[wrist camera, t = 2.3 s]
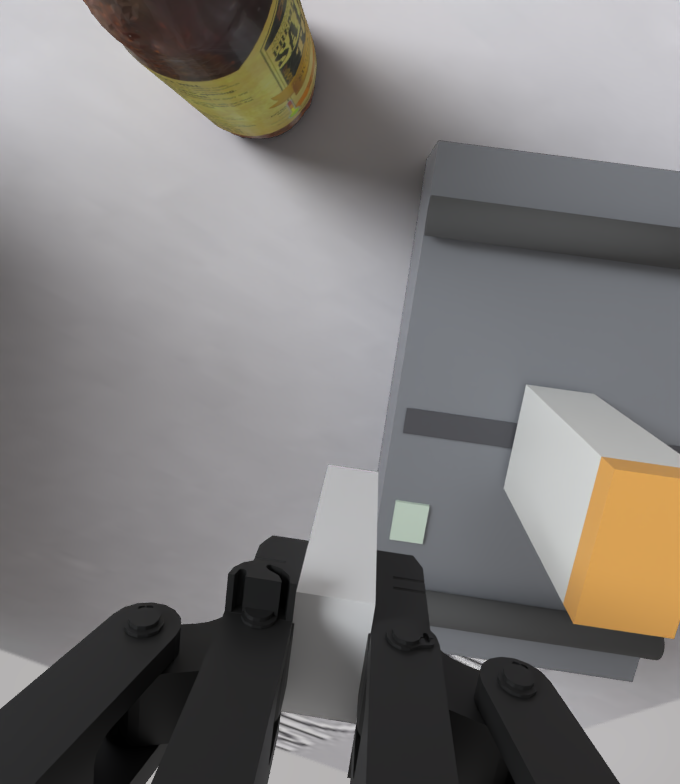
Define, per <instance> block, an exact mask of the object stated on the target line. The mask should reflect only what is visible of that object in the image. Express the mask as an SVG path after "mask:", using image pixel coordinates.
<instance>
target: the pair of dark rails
mask: <svg viewBox="0 0 680 784" xmlns="http://www.w3.org/2000/svg"><path fill="white" fill-rule="evenodd" d="M424 235H425V236H432V237H439V238H447V239H454V240H462V241H469V242H477V243H484V244H492V245H499V246H507V247H514V248H522V249H529V250H537V251H544V252H552V253H559V254H567V255H574V256H582V257H589V258H596V259H604V260H611V261H619V262H626V263H634V264H641V265H649V266H656V267H664V268H671V269H679V270H680V228H678V227H671V226H663V225H655V224H648V223H640V222H633V221H625V220H618V219H610V218H602V217H595V216H587V215H580V214H572V213H564V212H557V211H549V210H542V209H534V208H527V207H519V206H511V205H504V204H496V203H489V202H481V201H473V200H466V199H458V198H451V197H443V196H435V195H431V197H430V201H429V205H428V210H427V216H426V223H425V233H424ZM426 598H427V606H428V614H429V622H430V626H434V627H441V628H447V629H454V630H461V631H467V632H474V633H480V634H487V635H494V636H500V637H507V638H513V639H520V640H527V641H533V642H540V643H546V644H553V645H560V646H566V647H573V648H580V649H586V650H593V651H599V652H606V653H613V654H619V655H626V656H632V657H639V658H646V659H652V660H659V659H660V658H661V657H662V655H663V652H664V637H658V636H651V635H644V634H638V633H631V632H624V631H618V630H611V629H605V628H598V627H591V626H585V625H578V624H573V622H572V620H571V618H570V616H569V614H568V612H567V611H563V610H556V609H549V608H543V607H536V606H529V605H523V604H516V603H509V602H503V601H496V600H489V599H483V598H476V597H469V596H462V595H456V594H449V593H442V592H436V591H429V590H426Z"/></svg>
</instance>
